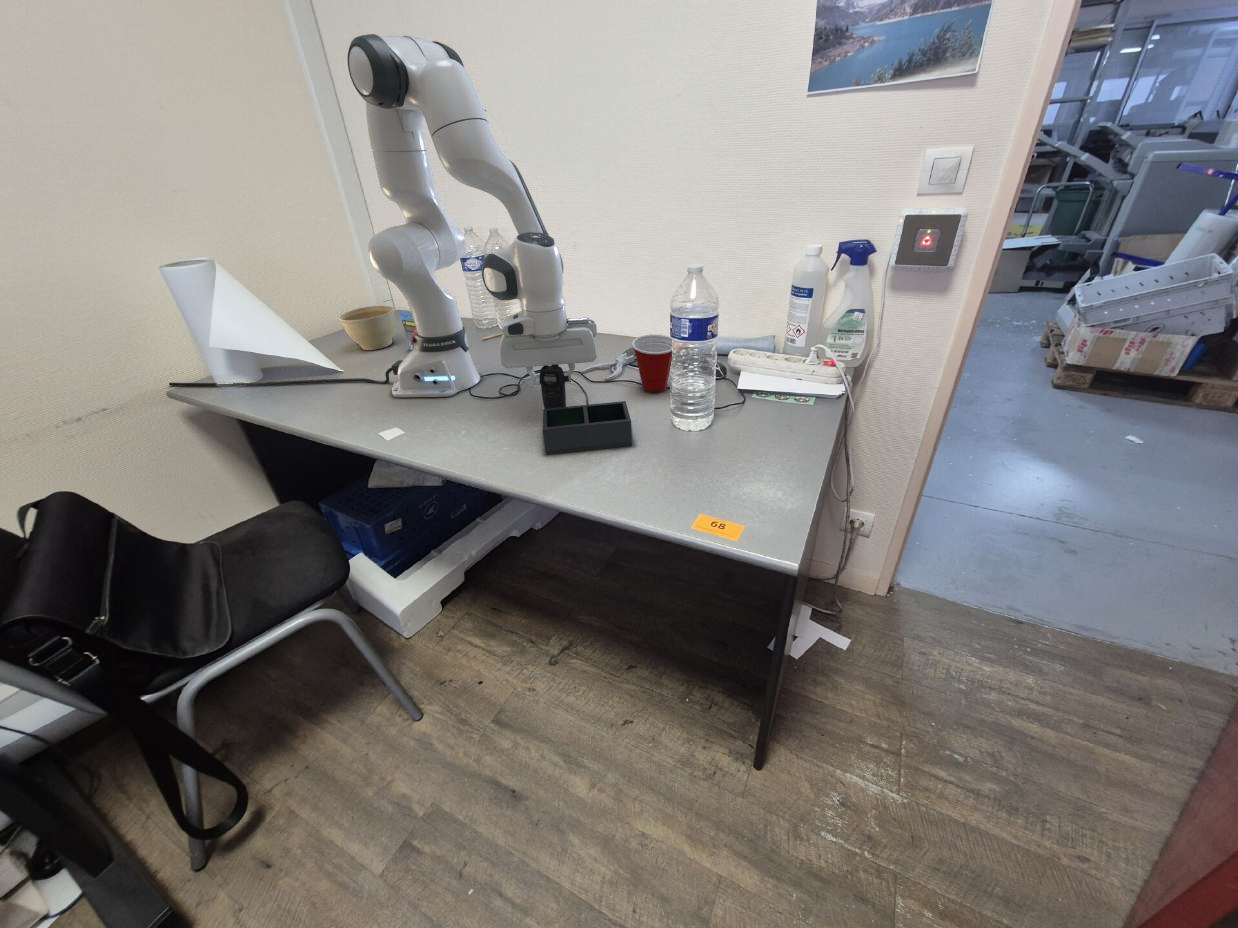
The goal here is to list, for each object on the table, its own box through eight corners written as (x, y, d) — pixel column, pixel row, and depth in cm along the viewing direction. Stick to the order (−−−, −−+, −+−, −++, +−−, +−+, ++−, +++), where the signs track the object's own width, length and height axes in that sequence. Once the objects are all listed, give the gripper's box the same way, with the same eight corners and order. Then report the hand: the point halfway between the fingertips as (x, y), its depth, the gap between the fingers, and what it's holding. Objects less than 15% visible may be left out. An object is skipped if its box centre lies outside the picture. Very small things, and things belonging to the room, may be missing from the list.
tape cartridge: (438, 350, 157) (427, 310, 150) (428, 354, 154) (417, 314, 148) (419, 346, 161) (408, 307, 155) (409, 350, 159) (398, 311, 152)
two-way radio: (541, 411, 112) (533, 346, 104) (546, 402, 116) (540, 339, 108) (565, 412, 111) (559, 347, 103) (570, 404, 115) (565, 340, 107)
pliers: (580, 367, 134) (616, 350, 144) (580, 373, 135) (617, 356, 145) (607, 375, 129) (643, 357, 138) (608, 381, 130) (643, 363, 139)
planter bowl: (384, 334, 174) (375, 303, 168) (412, 342, 165) (403, 308, 160) (340, 349, 163) (328, 315, 157) (367, 357, 155) (356, 322, 149)
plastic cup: (647, 401, 118) (646, 353, 112) (625, 386, 126) (623, 339, 120) (685, 391, 122) (686, 343, 116) (662, 376, 130) (662, 331, 124)
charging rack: (632, 446, 101) (631, 420, 98) (546, 454, 100) (542, 429, 97) (626, 425, 109) (625, 400, 106) (546, 433, 108) (543, 408, 105)
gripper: (594, 312, 106) (598, 373, 114) (497, 319, 105) (507, 380, 112) (596, 321, 101) (600, 385, 108) (494, 328, 99) (505, 392, 107)
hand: (552, 382), depth 110 cm, fingers closed on two-way radio, 5 cm apart
